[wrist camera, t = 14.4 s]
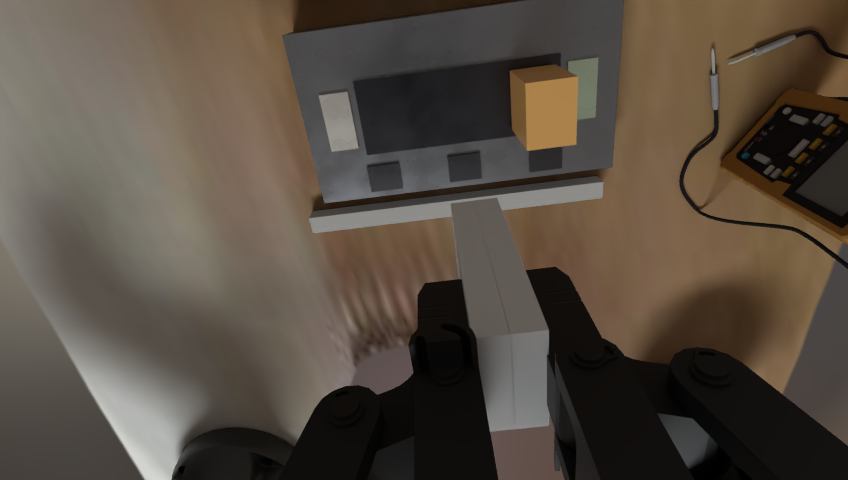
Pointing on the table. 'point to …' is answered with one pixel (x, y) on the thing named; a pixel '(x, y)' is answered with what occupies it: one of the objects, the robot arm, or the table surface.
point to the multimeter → (793, 155)
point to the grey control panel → (450, 94)
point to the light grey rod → (442, 207)
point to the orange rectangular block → (544, 106)
